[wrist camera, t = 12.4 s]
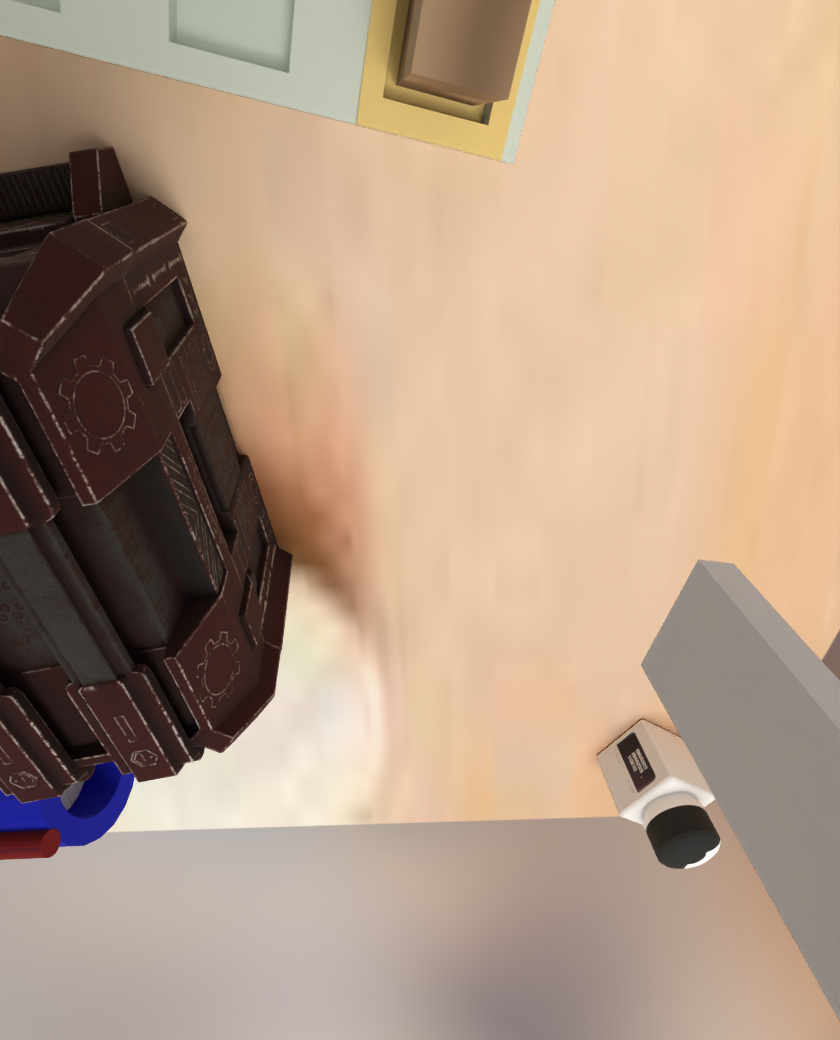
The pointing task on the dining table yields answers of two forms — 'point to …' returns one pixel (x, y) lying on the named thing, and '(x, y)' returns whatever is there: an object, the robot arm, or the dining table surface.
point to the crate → (119, 498)
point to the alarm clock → (64, 815)
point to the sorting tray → (288, 59)
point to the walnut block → (462, 48)
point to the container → (662, 793)
